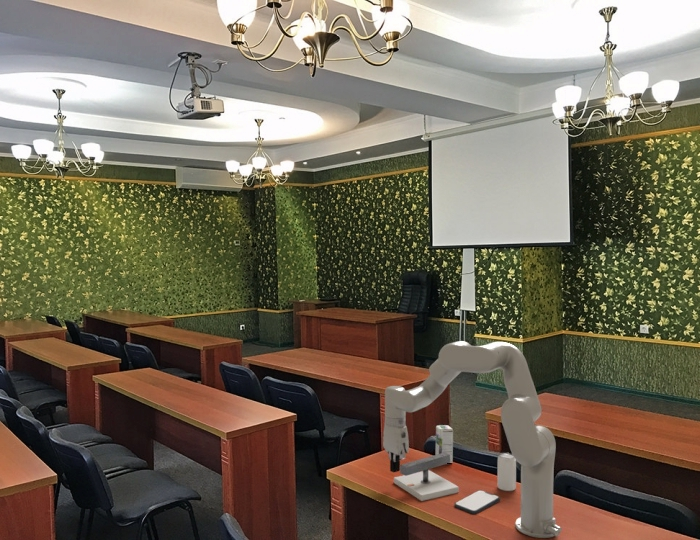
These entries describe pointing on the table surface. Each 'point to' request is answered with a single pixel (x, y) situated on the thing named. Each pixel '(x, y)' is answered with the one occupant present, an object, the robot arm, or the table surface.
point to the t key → (424, 465)
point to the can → (506, 472)
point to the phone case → (477, 502)
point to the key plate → (426, 485)
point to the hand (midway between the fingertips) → (394, 471)
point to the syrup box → (444, 440)
